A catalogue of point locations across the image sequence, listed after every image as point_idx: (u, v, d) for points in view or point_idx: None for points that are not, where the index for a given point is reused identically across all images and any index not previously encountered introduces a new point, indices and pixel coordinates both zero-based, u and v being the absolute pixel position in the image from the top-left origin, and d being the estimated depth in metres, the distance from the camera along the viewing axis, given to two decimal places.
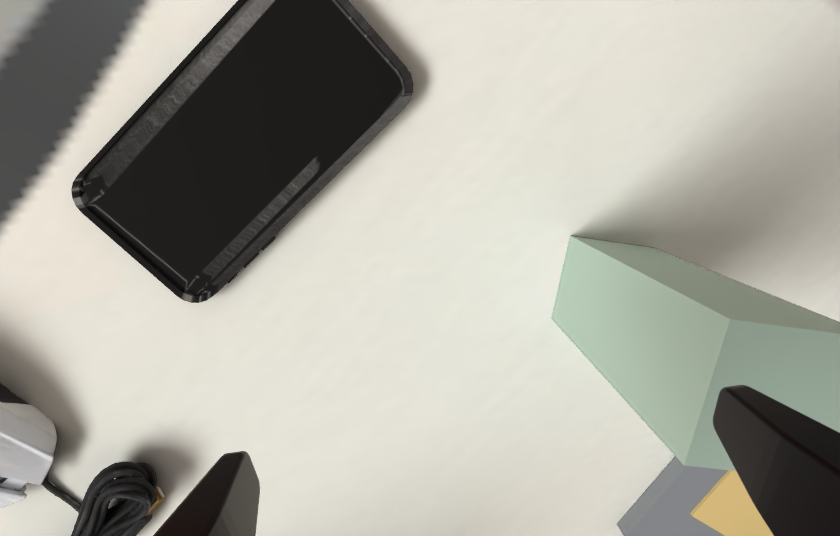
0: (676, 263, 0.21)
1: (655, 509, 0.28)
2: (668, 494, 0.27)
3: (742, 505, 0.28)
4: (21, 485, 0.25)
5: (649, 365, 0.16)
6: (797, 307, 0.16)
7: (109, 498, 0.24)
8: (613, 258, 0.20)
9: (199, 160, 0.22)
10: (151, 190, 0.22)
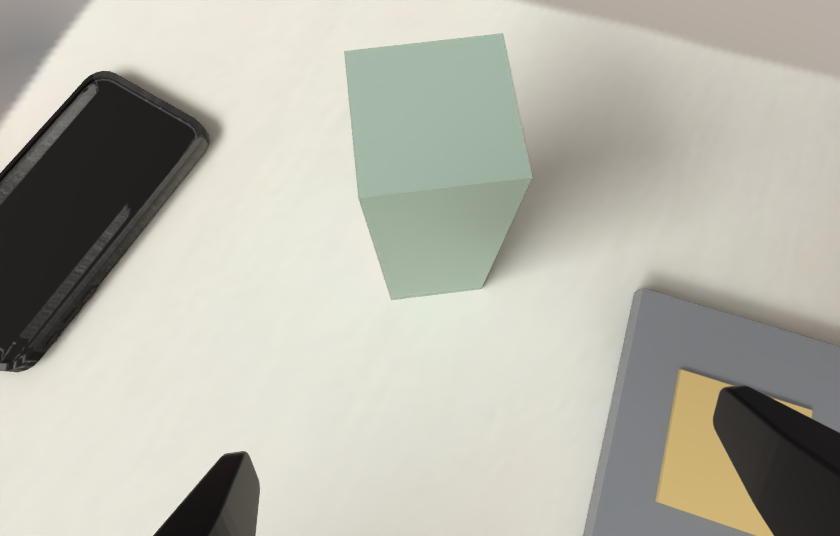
0: None
1: (606, 506, 0.20)
2: (611, 477, 0.21)
3: (715, 467, 0.20)
4: None
5: None
6: None
7: None
8: None
9: (21, 234, 0.24)
10: None
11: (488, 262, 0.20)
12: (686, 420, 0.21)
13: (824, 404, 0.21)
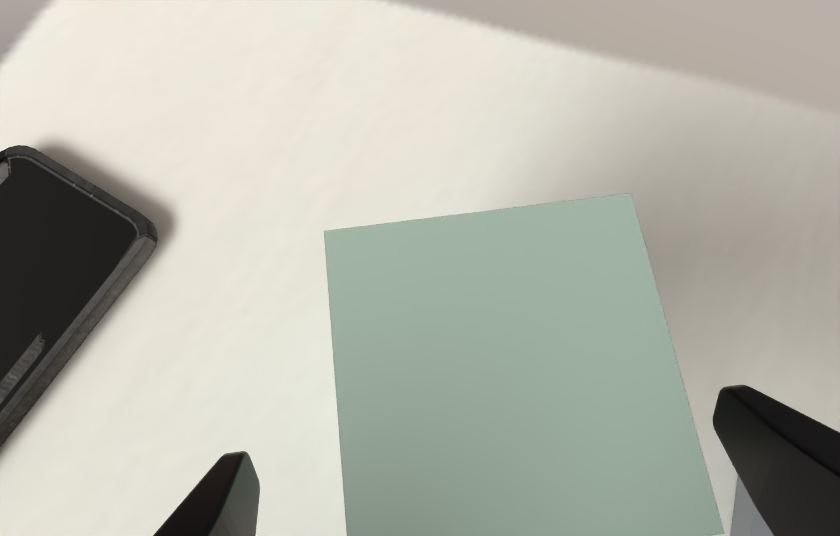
0: None
1: None
2: None
3: None
4: None
5: None
6: None
7: None
8: None
9: None
10: None
11: None
12: None
13: None
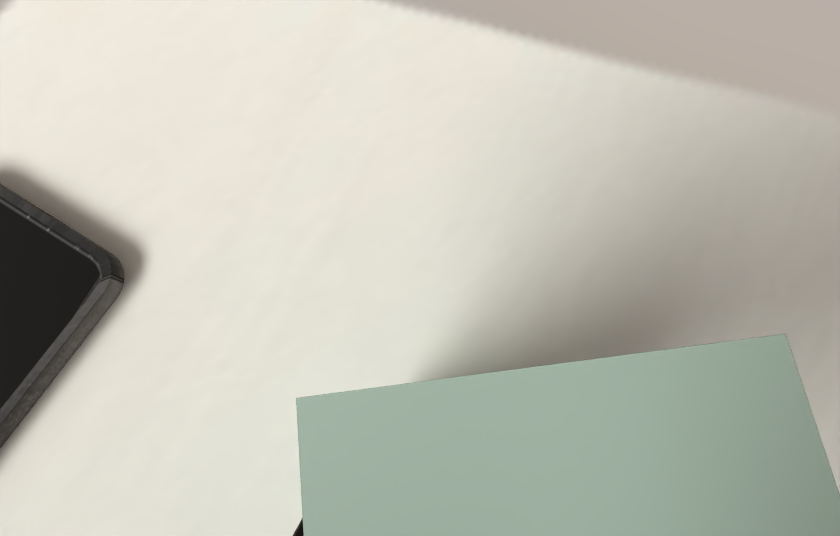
0: None
1: None
2: None
3: None
4: None
5: None
6: None
7: None
8: None
9: None
10: None
11: None
12: None
13: None
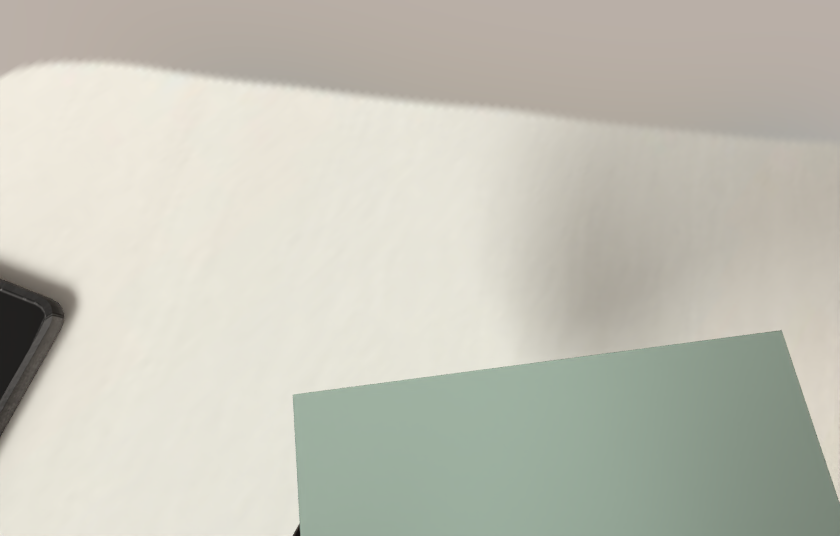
0: None
1: None
2: None
3: None
4: None
5: None
6: None
7: None
8: None
9: None
10: None
11: None
12: None
13: None
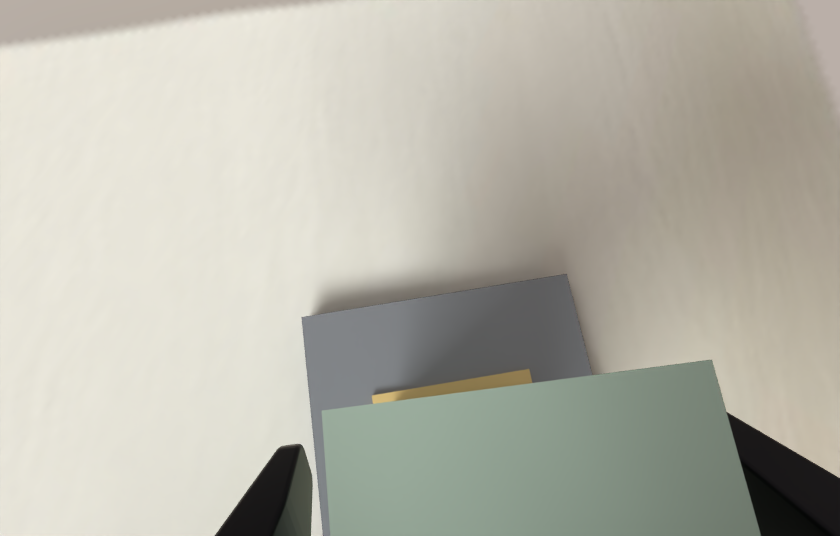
0: None
1: None
2: None
3: None
4: None
5: None
6: None
7: None
8: None
9: None
10: None
11: None
12: None
13: (541, 353, 0.18)
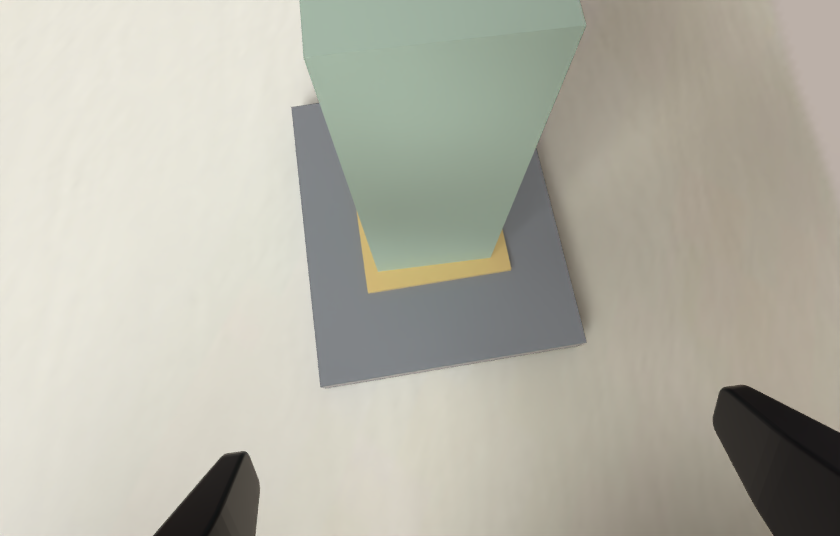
0: None
1: (322, 322, 0.19)
2: (318, 293, 0.19)
3: None
4: None
5: None
6: None
7: None
8: None
9: None
10: None
11: (502, 212, 0.15)
12: None
13: None
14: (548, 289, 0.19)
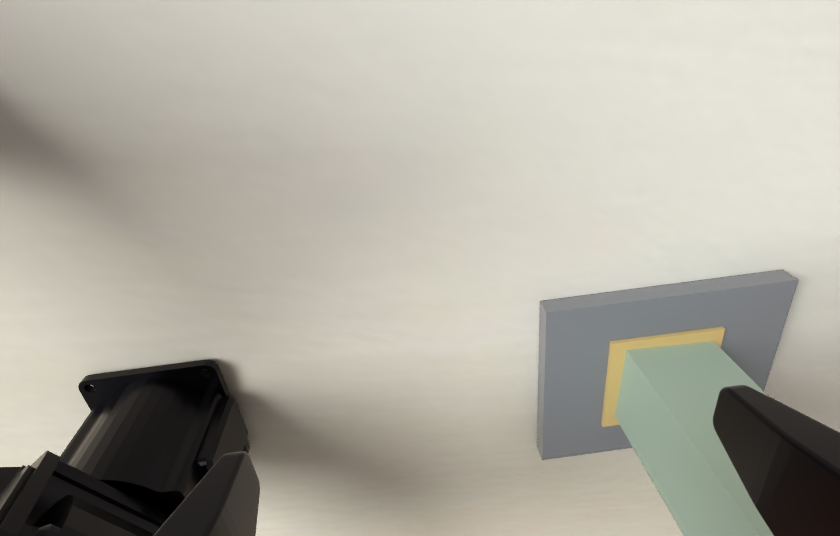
0: None
1: (596, 311, 0.23)
2: (620, 308, 0.23)
3: None
4: None
5: None
6: None
7: None
8: None
9: None
10: None
11: (658, 488, 0.22)
12: None
13: None
14: (582, 443, 0.27)
